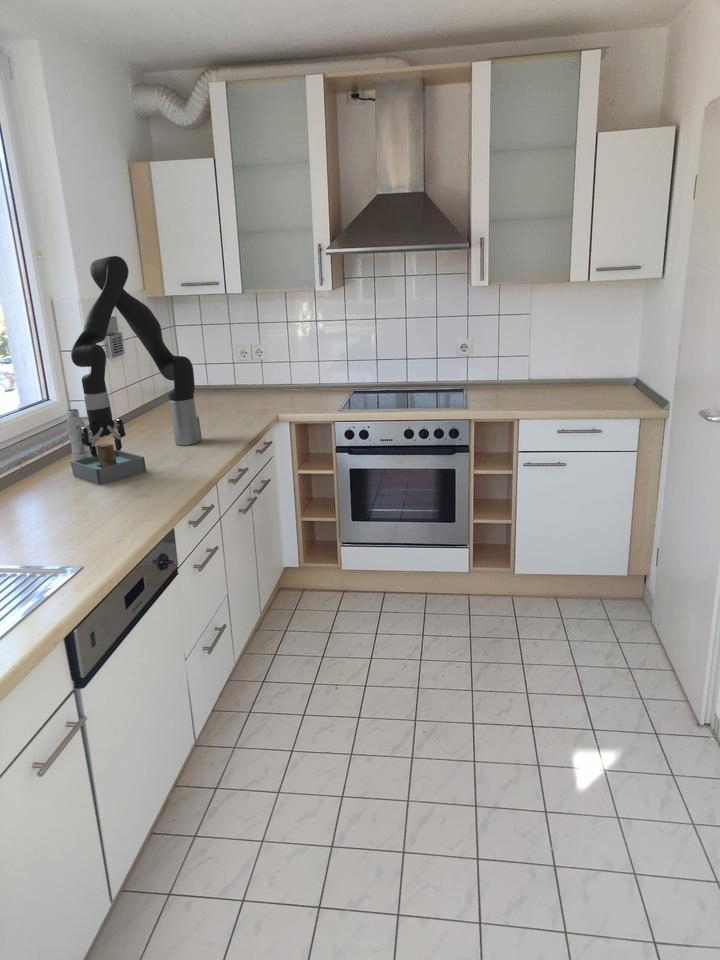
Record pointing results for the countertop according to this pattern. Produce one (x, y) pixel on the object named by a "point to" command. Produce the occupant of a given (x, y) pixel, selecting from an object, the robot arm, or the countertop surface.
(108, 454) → the peg
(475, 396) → the countertop surface
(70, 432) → the plastic bottle
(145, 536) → the countertop surface
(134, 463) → the box
